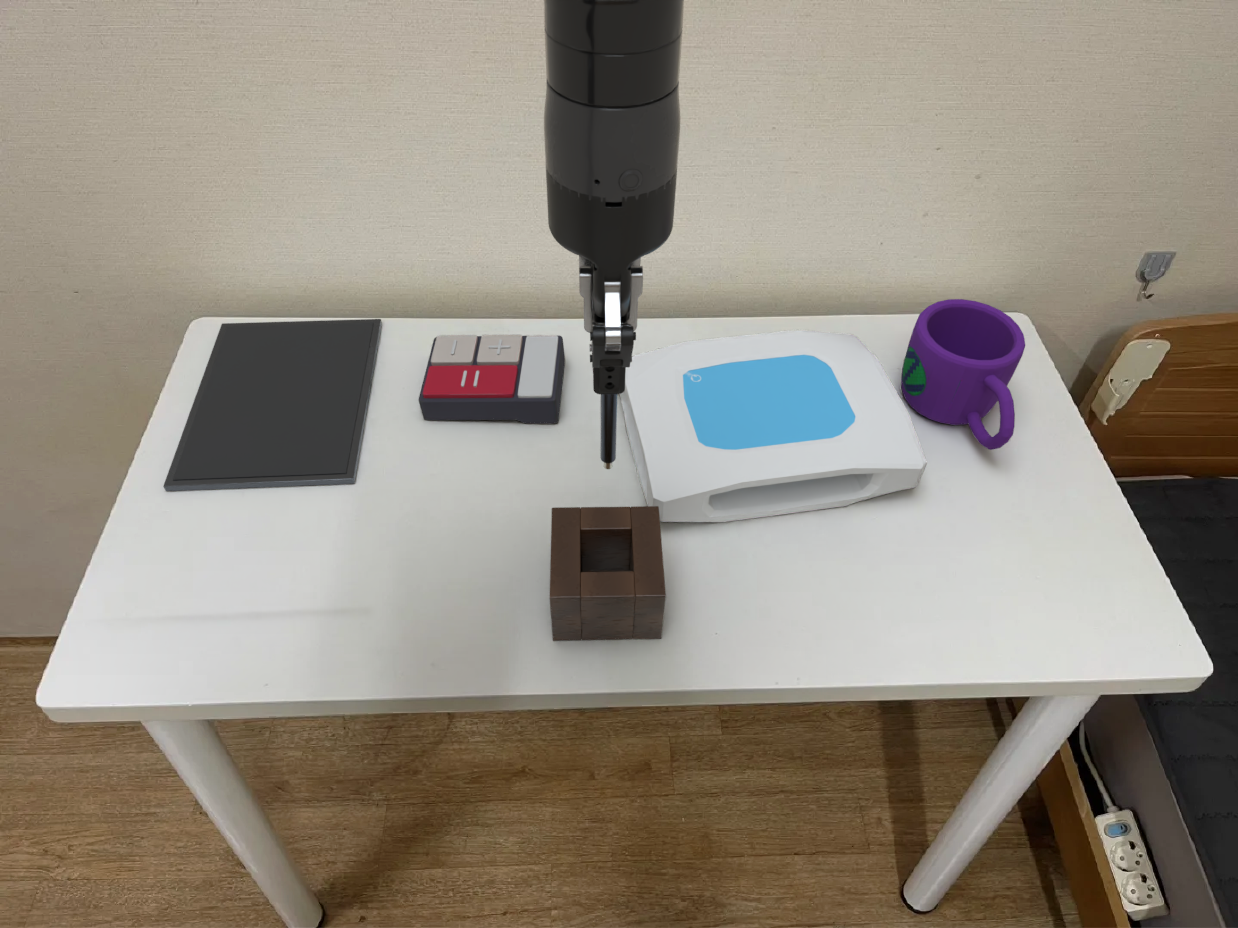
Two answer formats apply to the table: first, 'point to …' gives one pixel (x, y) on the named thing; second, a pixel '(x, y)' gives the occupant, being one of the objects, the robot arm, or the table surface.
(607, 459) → the stylus
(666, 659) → the table surface
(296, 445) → the tablet
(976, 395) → the mug
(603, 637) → the pen stand
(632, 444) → the document scanner
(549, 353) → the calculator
